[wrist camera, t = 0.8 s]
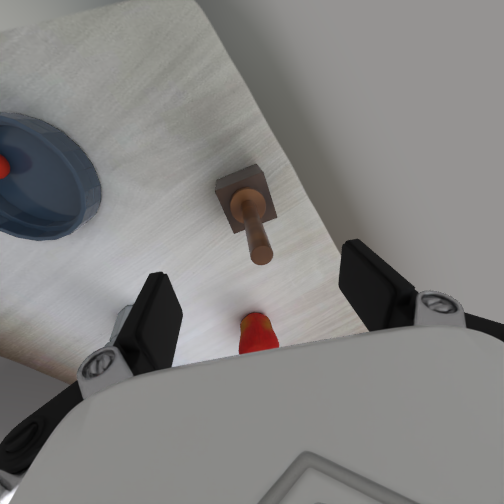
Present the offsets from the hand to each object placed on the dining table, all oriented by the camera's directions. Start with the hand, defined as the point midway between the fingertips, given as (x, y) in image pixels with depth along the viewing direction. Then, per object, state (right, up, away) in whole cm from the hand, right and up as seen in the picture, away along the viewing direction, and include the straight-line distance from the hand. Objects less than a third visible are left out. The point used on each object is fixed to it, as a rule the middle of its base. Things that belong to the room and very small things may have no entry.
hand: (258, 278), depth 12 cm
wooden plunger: (-1, +8, +19) cm, 21 cm away
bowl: (-32, +13, +21) cm, 40 cm away
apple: (0, -15, +41) cm, 44 cm away
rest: (-2, +12, +25) cm, 28 cm away
